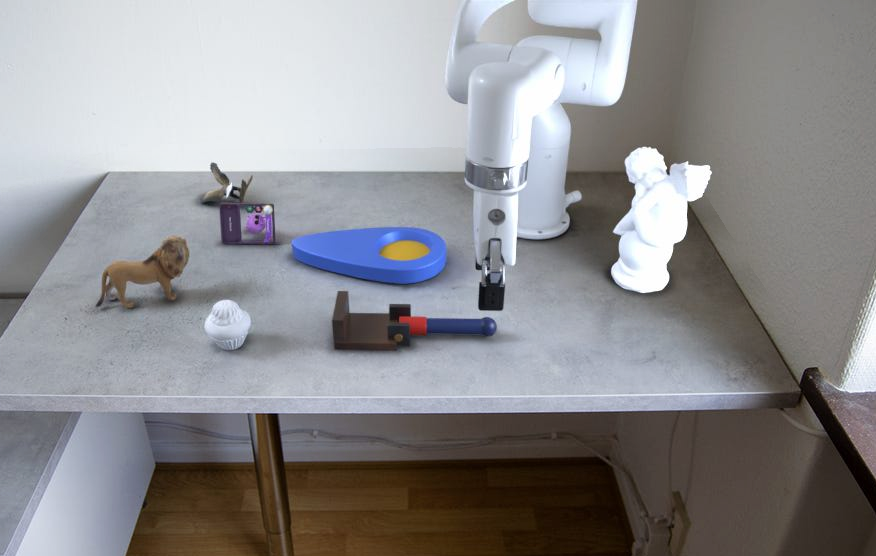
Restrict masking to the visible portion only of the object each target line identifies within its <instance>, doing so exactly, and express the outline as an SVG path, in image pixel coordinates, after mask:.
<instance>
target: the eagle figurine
mask: <svg viewBox="0 0 876 556" xmlns="http://www.w3.org/2000/svg"><path fill="white" fill-rule="evenodd" d="M209 166H210V167H209V169H210V171H211V173H212V175H213V178H214V180H215V181H216V182H217V183H218V184H219V185H220V186H222V187H221V188H219V189H212V190H209V191H207V192H206V194H205V195H203V196H201V197H200V199H199V202H200V203H202V204H204V203H207V202H214V203H216V202H219V201H221V200H222V199H223V198H224V197H225V199H226V200H227V199H228V197H230V198H233V199H235V200H239V201H238V203H244V199H245V196H246V192H247V189H248V188H249V186H250V184H251V183H252V181H253V177H254V175H252V174H251V176H250V177H249V179H248V180H247V182H246V180H244V179H243V178H242V179H241V184H240V186H241V187H238V186H235V185H234V184H233V182H231V183H230V178H229V177H228V175H226V173H224V172H223V171H221V169H220V168H219V166H218V163H216V162H210V165H209ZM235 191H237V192H238V193H239V195H237V194H236V193H234V192H235Z"/></svg>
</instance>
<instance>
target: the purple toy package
mask: <svg viewBox="0 0 876 556" xmlns="http://www.w3.org/2000/svg"><path fill="white" fill-rule="evenodd" d="M218 206H219V207H218V209H219V224H220V239H221V240H220V241H221V244H223V245H224V244H226V245H228V244H229V245H275V244H276V243H277V242H276V221H275V220H276V218H275V217H276V216H275V204H274V203H258V202H256V203H254V202H252V203H251V202H247V203H245V202H243V203H240V202H220V203H219V204H218ZM241 206H242V207H245V208H244V209H245V211H246V213H248V214H250V215H246V217H247V218H246V219H245V221H246V223H245V228H246V229H244V231H245V232H249V233H250V234H253V235H255V234H257V235H258V234H260V233H262V232H263V231H265V237H264V239H263V241H262V240H261V241H260V240H259V241H258V240H253V241H251V240H243V239H242V220H241V218H242V217H241ZM254 212H255V213H254ZM262 212H263V213H262ZM263 214H264V215H265V216H263ZM270 239H272V241H269V240H270Z"/></svg>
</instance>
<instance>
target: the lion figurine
mask: <svg viewBox="0 0 876 556" xmlns="http://www.w3.org/2000/svg"><path fill="white" fill-rule="evenodd" d="M189 258H190V249H189V247H188V245H187V239H186V238H182V237H180V236H177V235H172V236H171V235H170V236H168V237H166V238H164V239H163V240H162V244H161V245H160V246H159V247H158V248H157V249H156V250H155V251H154V252H152V254H151V255H150V256H148V258H146V259H144V260H139V261H125V260H117V261H114V262H112V263H111V264H108V265H107V266H106V267H105V268H104V269H103V272H102V276H101V294H100V297H99V299H98V301H97V303H95V308H98V307H101V306H102V305H103V303H104V301H105V298H106V300H108V301H113V300H115V299H118V300H119V302H121V303H122V305H123V307H125V308H127V309H132V308H134V307H135V303H134V301H129V300H127V298H126V291H127V283H128V282H130V283H133V284H136V285H141V286H142V285H143V286H145V285H152V284H155V283H159V289H160V290H161V291H162V292H163V293H164V295H165V297H166V298H167V299H168V300H169V301H175V300H176V299H177V295H176V293H173V292H172V281H173V280H174V279H176V278H179V277H180V276H181V275H182V274H183V271H184V269H185V267H186V266H187V264H188V263H189ZM108 278H109V279H108ZM107 279H108V282H107ZM114 289H115V290H116V291H117V295H116V294H114V293H112V291H113V290H114Z"/></svg>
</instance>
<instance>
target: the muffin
mask: <svg viewBox="0 0 876 556" xmlns="http://www.w3.org/2000/svg"><path fill="white" fill-rule="evenodd" d="M251 319H252V318H251V316H250V314H249V313H248V312H247V311H246V310H244V309H241V308H240V306H239V304H238V303H237V302H235V301H234V300H231V299H222V300H219V301H217V302H216V303H214V305H213V306H212V309H211V313H210V314H209V315H208V316H207V318H206V319H205V322H204V330H205V333H207V335H208V337H209V338H210V339H211V340H212V341H213V342H214V343H215V344H216V345H217V346H218V347H219V348H221V349H222V350H225V351H234V350H237V349H239V348H240V347H242V346H243V344H244V342H245V341H246V338H247V336H248V334H249V332H250V327H251V324H252V320H251Z"/></svg>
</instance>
